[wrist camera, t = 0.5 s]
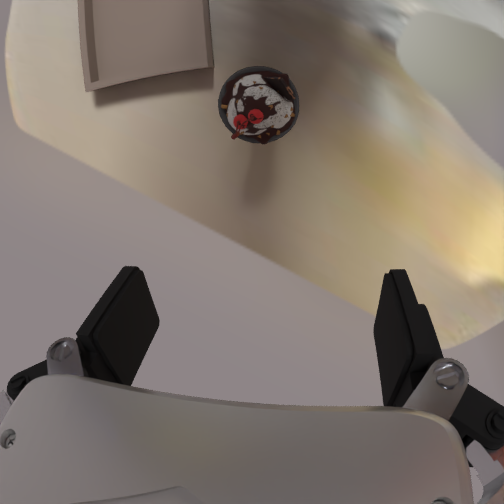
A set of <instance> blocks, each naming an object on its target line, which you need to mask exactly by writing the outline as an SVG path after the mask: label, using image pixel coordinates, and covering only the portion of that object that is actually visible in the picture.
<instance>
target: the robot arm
mask: <svg viewBox="0 0 504 504" xmlns="http://www.w3.org/2000/svg"><path fill="white" fill-rule="evenodd" d="M158 327H159V317H158V314H157V311H156V308H155V306H154V303H153V300H152V297H151V294H150V291H149V288H148V285H147V282H146V279H145V276H144V273H143V271H141V270H140V269H139V268H138V267H136V266H125V267H123V268H122V270H121V271H120V272H119V274H118V275H117V276H116V278H115V279H114V280H113V282H112V283H111V284H110V286H109V287H108V289H107V290H106V291H105V293H104V294H103V295H102V297H101V298H100V300H99V301H98V303H97V304H96V305H95V307H94V308H93V309H92V311H91V312H90V314H89V315H88V317H87V318H86V320H85V321H84V322H83V324H82V325H81V327H80V328H79V330H78V331H77V333H76V335H77V339H76V340H74V339H73V338H70V337H64V338H61V339H59V340H57V341H55V342H54V343H53V344H52V345H51V346H50V347H49V349H48V351H47V356H46V357H47V360H45V361H43V362H40V363H38V364H36V365H34V366H32V367H30V368H28V369H26V370H23V371H21V372H19V373H17V374H16V375H14V376H13V377H12V378H11V379H10V381H9V382H8V386H7V392H5V391H2V392H0V504H474V501H473V491H472V482H471V475H470V469H469V467H474V468H475V469H476V471H477V472H478V473H479V474H478V475H477V477H478V478H479V479H480V481H481V483H482V485H483V490H484V491H483V495H482V498H481V499H480V501H479V502H478V503H477V504H504V407H503V406H502V405H500V404H499V403H497V402H496V401H494V400H493V399H491V398H489V397H488V396H486V395H485V394H483V393H482V392H480V391H478V390H477V389H475V388H474V387H472V386H470V385H469V384H468V382H469V374H468V372H467V369H466V368H465V367H464V365H463V364H462V363H460V362H459V361H457V360H454V359H451V358H444V357H443V355H442V351H441V348H440V345H439V342H438V339H437V336H436V333H435V330H434V327H433V324H432V321H431V318H430V315H429V313H428V310H427V308H426V306H425V305H424V304H418V302H417V299H416V296H415V293H414V291H413V288H412V285H411V283H410V280H409V277H408V275H407V272H406V270H405V269H391V270H390V271H389V273H385V275H384V279H383V284H382V290H381V295H380V300H379V305H378V310H377V314H376V319H375V324H374V339H375V345H376V351H377V357H378V365H379V372H380V380H381V387H382V395H383V404H384V406H296V405H275V404H260V403H246V402H235V401H225V400H216V399H208V398H200V397H192V396H185V395H179V394H172V393H165V392H160V391H153V390H148V389H142V388H138V387H132V386H131V384H132V382H133V380H134V378H135V375H136V373H137V371H138V369H139V367H140V365H141V363H142V360H143V358H144V356H145V354H146V352H147V350H148V348H149V346H150V344H151V341H152V340H153V337H154V335H155V333H156V331H157V329H158Z"/></svg>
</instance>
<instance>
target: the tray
mask: <svg viewBox="0 0 504 504" xmlns="http://www.w3.org/2000/svg"><path fill="white" fill-rule="evenodd" d="M78 17H79V34H80V46H81V57H82V67H83V75H84V83H85V91H86V92H89V91H94V90H98V89H102V88H105V87H109V86H113V85H117V84H121V83H126V82H130V81H134V80H139V79H144V78H149V77H154V76H159V75H164V74H170V73H176V72H182V71H189V70H196V69H203V68H211V67H214V61H213V50H212V38H211V26H210V13H209V0H78Z"/></svg>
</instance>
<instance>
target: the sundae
mask: <svg viewBox="0 0 504 504" xmlns="http://www.w3.org/2000/svg"><path fill="white" fill-rule="evenodd" d="M218 108H219V114H220V117H221V119H222V121H223V123H224V124H225V126H226V127H227V128H228V129H229V130H230V131H231V132H232V133H233V135H232V136H231V138H232V139H235V138H237V137H238V138H240V139H242V140H245V141H248V142H251V143H261V144H267V143H268V142H271V141H274V140H277V139H279V138H281V137H283V136H284V135H285V134H287V133H288V132H289V131H290V130H291V128H292V127H293V126H294V124H295V122H296V120H297V117H298V113H299V98H298V94H297V91H296V89H295V87H294V85H293V83H292V82H291V80H290V79H289V77H288V75H287V74H283V73H281V72H280V71H278V70H275V69H272V68H269V67H264V66H254V67H247V68H244V69H242V70H239V71H238V72H236V73H234V74H233V75H232V76H230V77H229V79H228V80H227V81H226V82H225V84H224V85H223V87H222V89H221V92H220V95H219V99H218Z"/></svg>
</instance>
